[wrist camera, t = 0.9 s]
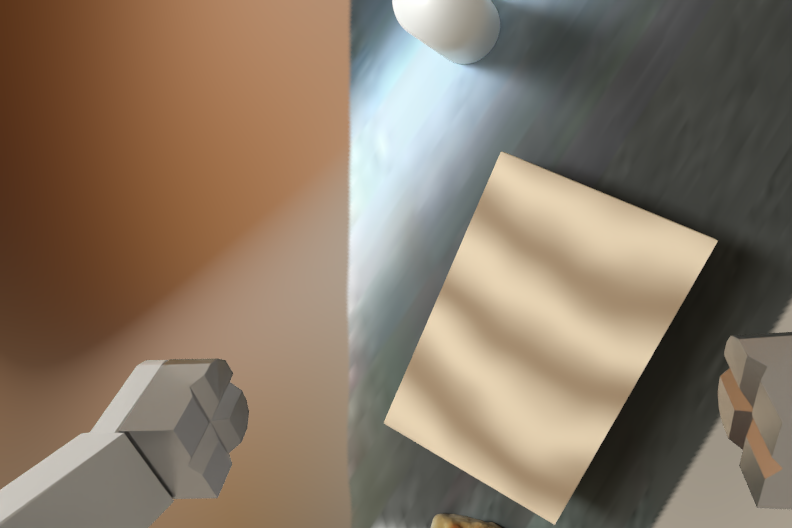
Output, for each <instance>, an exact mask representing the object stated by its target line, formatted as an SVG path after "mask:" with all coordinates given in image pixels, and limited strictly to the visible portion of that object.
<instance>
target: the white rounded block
mask: <svg viewBox="0 0 792 528" xmlns="http://www.w3.org/2000/svg"><path fill="white" fill-rule="evenodd" d="M392 1H393V9H394V13H395V16H396V18H397V20H398V22H399V23H400V25H401V26H402V27H403V28H404V29H405V30H406V31H407V32H409V33H410V34H411V35H413V36H414V37H416V38H417V39H419V40H420V41H421V42H423V43H424V44H426V45H427V46H429V47H430V48H432V49H433V50H434V51H436V52H437V53H439V54H440V55H442V56H443V57H445V58H446V59H448V60H449V61H451V62H453V63H457V64H471V63H474V62H476V61H479V60H480V59H482V58H483V57H485V56H486V55H487V54H488V53H489V52H490V51H491V50H492V48H493V47H494V45H495V43H496V41H497V39H498V36H499V32H500V18H499V14H498V11H497V9H496V7H495V5H494V4H493V3H492V1H491V0H392Z"/></svg>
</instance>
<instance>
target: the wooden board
mask: <svg viewBox="0 0 792 528" xmlns="http://www.w3.org/2000/svg"><path fill="white" fill-rule="evenodd" d="M717 242H718V241H717V240H716V239H714V238H712V237H710V236H707V235H705V234H702V233H700V232H697V231H695V230H693V229H690V228H688V227H685V226H683V225H680V224H678V223H676V222H673V221H671V220H668V219H666V218H663V217H661V216H659V215H656V214H654V213H651V212H649V211H646V210H644V209H642V208H639V207H637V206H634V205H632V204H629V203H627V202H624V201H622V200H620V199H617V198H615V197H612V196H610V195H607V194H605V193H603V192H600V191H598V190H595V189H593V188H590V187H588V186H586V185H583V184H581V183H578V182H576V181H573V180H571V179H569V178H566V177H564V176H561V175H559V174H556V173H554V172H552V171H549V170H547V169H544V168H542V167H539V166H537V165H535V164H532V163H530V162H527V161H525V160H522V159H520V158H517V157H515V156H513V155H510V154H508V153H505V152H501V153H500V155H499V157H498V160H497V162H496V164H495V167H494V169H493V171H492V174H491V176H490V178H489V181H488V183H487V185H486V187H485V190H484V192H483V194H482V197H481V199H480V201H479V204H478V206H477V208H476V211H475V213H474V215H473V218H472V220H471V222H470V224H469V227H468V229H467V231H466V234H465V236H464V238H463V241H462V243H461V245H460V248H459V250H458V252H457V255H456V257H455V259H454V262H453V264H452V266H451V268H450V271H449V273H448V275H447V278H446V280H445V282H444V285H443V287H442V289H441V292H440V294H439V296H438V299H437V301H436V303H435V305H434V308H433V310H432V312H431V315H430V317H429V319H428V322H427V324H426V326H425V329H424V331H423V333H422V336H421V338H420V340H419V342H418V345H417V347H416V349H415V352H414V354H413V356H412V359H411V361H410V363H409V366H408V368H407V370H406V373H405V375H404V377H403V379H402V382H401V384H400V386H399V389H398V391H397V393H396V396H395V398H394V400H393V403H392V405H391V407H390V410H389V412H388V414H387V416H386V419H385V421H384V424H386V425H388V426H389V427H391V428H393V429H395V430H396V431H398V432H400V433H401V434H403V435H405V436H406V437H408V438H410V439H411V440H413V441H415V442H416V443H418V444H420V445H421V446H423V447H425V448H426V449H428V450H430V451H432V452H433V453H435V454H437V455H438V456H440V457H442V458H443V459H445V460H447V461H448V462H450V463H452V464H453V465H455V466H457V467H458V468H460V469H462V470H463V471H465V472H467V473H469V474H470V475H472V476H474V477H475V478H477V479H479V480H480V481H482V482H484V483H485V484H487V485H489V486H490V487H492V488H494V489H495V490H497V491H499V492H500V493H502V494H504V495H506V496H507V497H509V498H511V499H512V500H514V501H516V502H517V503H519V504H521V505H522V506H524V507H526V508H527V509H529V510H531V511H532V512H534V513H536V514H537V515H539V516H541V517H543V518H544V519H546V520H548V521H549V522H551V523H553V524H554V525H555V523H556V522H557V520H558V518H559V516H560V515H561V513H562V511H563V509H564V508H565V506H566V504H567V503H568V501H569V499H570V497H571V496H572V494H573V492H574V490H575V489H576V487H577V485H578V483H579V482H580V480H581V478H582V476H583V475H584V473H585V471H586V470H587V468H588V466H589V464H590V463H591V461H592V459H593V457H594V456H595V454H596V452H597V450H598V449H599V447H600V445H601V443H602V442H603V440H604V438H605V437H606V435H607V433H608V431H609V430H610V428H611V426H612V424H613V423H614V421H615V419H616V417H617V416H618V414H619V412H620V410H621V409H622V407H623V405H624V403H625V402H626V400H627V398H628V397H629V395H630V393H631V391H632V390H633V388H634V386H635V384H636V383H637V381H638V379H639V377H640V376H641V374H642V372H643V370H644V369H645V367H646V365H647V364H648V362H649V360H650V358H651V357H652V355H653V353H654V351H655V350H656V348H657V346H658V344H659V343H660V341H661V339H662V337H663V336H664V334H665V332H666V331H667V329H668V327H669V325H670V324H671V322H672V320H673V318H674V317H675V315H676V313H677V311H678V310H679V308H680V306H681V304H682V303H683V301H684V299H685V298H686V296H687V294H688V292H689V291H690V289H691V287H692V285H693V284H694V282H695V280H696V278H697V277H698V275H699V273H700V271H701V270H702V268H703V266H704V265H705V263H706V261H707V259H708V258H709V256H710V254H711V252H712V251H713V249H714V247H715V245H716V244H717Z"/></svg>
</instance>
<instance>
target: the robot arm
mask: <svg viewBox="0 0 792 528" xmlns="http://www.w3.org/2000/svg"><path fill="white" fill-rule="evenodd" d="M724 356H725V358H726V360H727V362H728V365H729V367H730V368H729V369H728V370H727V371H726V372H725V373H723V374H722V375H721V376H720V380H719V387H718V402H719V411H720V415H721V419H722V423H723V426H724V428H725V431H726V433H727V436H728V439H730V440H731V441H732V442H733V443H735V444H736V445H737V446H739V447H740V448H741V449H743V452H742V456H741V461H740V465H739V466H740V468H741V470H742V473H743V475H744V478H745V480H746V482H747V485H748V487H749V489H750V492H751V494H752V496H753V499H754V501H755V504H756V506H757V508H772V509H774V508H775V509H792V332H786V333H767V334H749V335H731V336H730V338H729V339H728V341H727V343H726V348H725V353H724ZM232 374H233V372H232V371H231V369H230V367H229V366H228V364H227V362H226V361H225V360H222V359H173V360H172V359H171V360H146V361H144V362H143V363H141V364H139V365H137V367H136V368H135V369H134V371H133V372H132V374H131V375H130V377H129V378H128V379H127V381H126V382H125V384H124V385H123V386H122V388H121V389H120V391H119V392H118V394H117V395H116V396H115V398H114V399H113V401H112V402H111V403H110V405H109V406H108V408H107V409H106V411H105V412H104V413H103V415H102V416H101V418H100V419H99V420H98V422H97V423H96V425H95V426H94V428H93V429H92V430H91V432H90V433H82V434H80V435H79V436H77V437H76V438H74V439H73V440H72V441H70V442H69V443H67V444H66V445H64V446H63V447H61V448H60V449H59V450H57V451H56V452H54V453H53V454H51V455H50V456H48V457H47V458H46V459H44V460H43V461H41V462H40V463H39V464H37V465H35V466H34V467H33V468H31V469H30V470H28V471H27V472H25V473H24V474H23V475H21V476H20V477H18V478H17V479H15V480H14V481H12V482H11V483H10V484H8V485H7V486H5V487H4V488H2V489H1V490H0V528H148V527H149V526H150V525H151V524H152V523H153V522H154V521H155V520H156V519H157V518H158V517H159V516H160V515H161V514H162V513H163V512H164V511H165V510H166V509H167V508H168V507H169V506H170V505H171V504H172V503H173V501H174V500H173V499H186V498H217V497H218V496H219V493H220V491H221V489H222V486H223V484H224V482H225V479H226V477H227V475H228V473H229V470H230V468H231V466H232V462H231V458H230V455H229V453H230V452H231V451H232V450H233V449H234V448H235V447H236V446H238V445H239V444H240V443H241V442H242V440H243V437H244V435H245V432H246V430H247V424H248V415H249V410H248V405H247V400H246V398H245V396H244V394H243V392H242V390H240V389H239V388H237V387H236V386H234V385H233V384H232V383H230V380H231V377H232Z"/></svg>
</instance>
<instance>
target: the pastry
mask: <svg viewBox="0 0 792 528" xmlns="http://www.w3.org/2000/svg"><path fill="white" fill-rule="evenodd" d="M431 528H501V527H500V526H499V525H497V524H495V523H493V522H484V521H482V520H477V519H473V518H470V517H467V516H462V515H455V514H437V515H436V516H435V517H434V518H433V522H432V525H431Z"/></svg>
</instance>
